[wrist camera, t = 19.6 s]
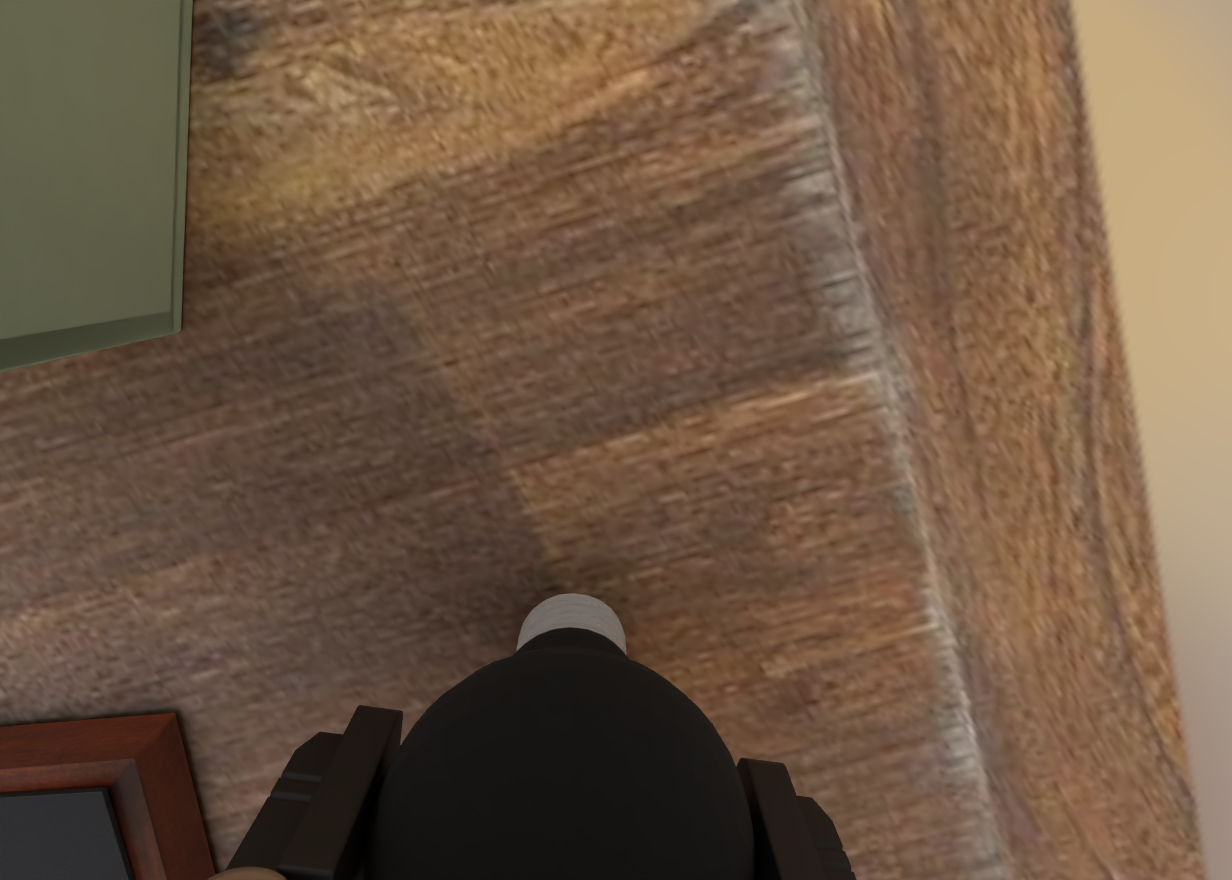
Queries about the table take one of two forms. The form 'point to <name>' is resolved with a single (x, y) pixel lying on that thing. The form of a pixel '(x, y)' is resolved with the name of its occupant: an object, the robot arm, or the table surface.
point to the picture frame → (99, 802)
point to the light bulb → (562, 770)
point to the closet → (91, 174)
